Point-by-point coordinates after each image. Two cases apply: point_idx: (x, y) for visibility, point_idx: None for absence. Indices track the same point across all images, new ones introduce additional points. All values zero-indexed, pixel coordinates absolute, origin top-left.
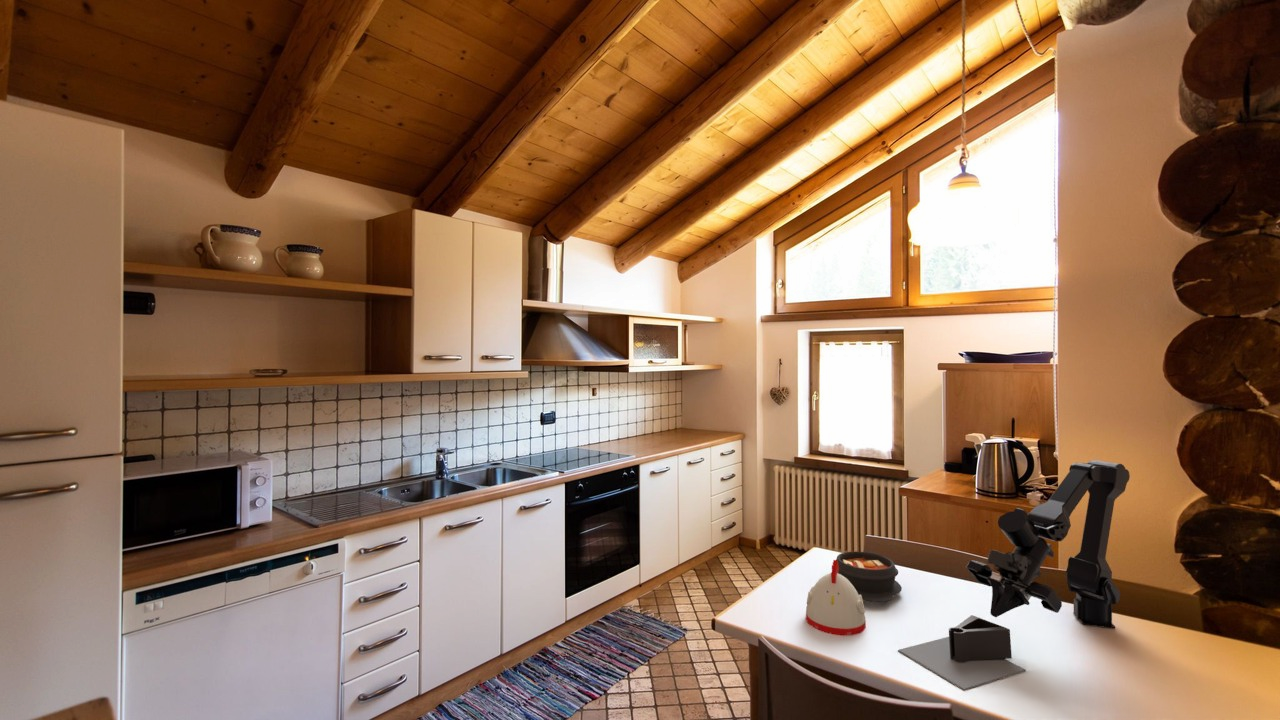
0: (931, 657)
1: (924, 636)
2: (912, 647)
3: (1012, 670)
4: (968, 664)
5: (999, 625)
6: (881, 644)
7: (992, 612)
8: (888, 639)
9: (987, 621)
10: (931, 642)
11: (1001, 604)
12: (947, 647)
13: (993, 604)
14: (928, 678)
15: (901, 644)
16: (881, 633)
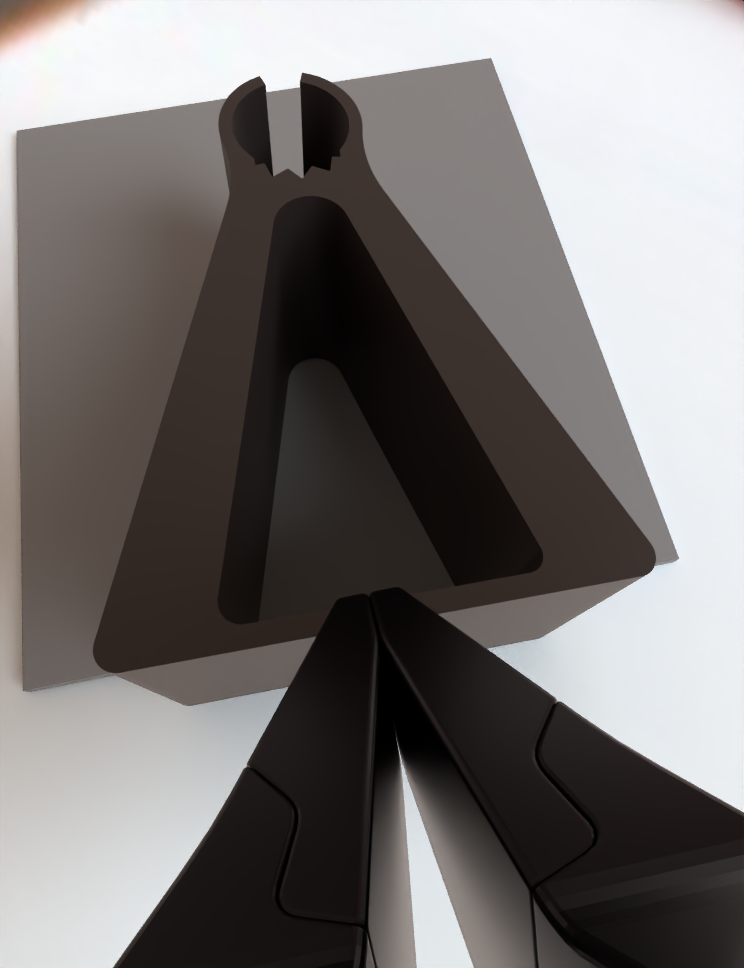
0: None
1: (676, 314)
2: (507, 140)
3: (54, 566)
4: None
5: (260, 642)
6: (583, 30)
7: (369, 597)
8: (644, 89)
9: (423, 595)
10: (561, 285)
11: (274, 721)
12: None
13: (431, 651)
14: (185, 56)
15: (571, 122)
16: (730, 92)
